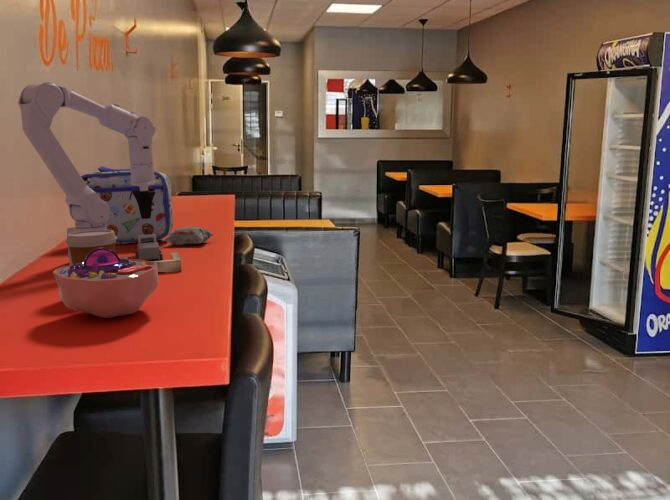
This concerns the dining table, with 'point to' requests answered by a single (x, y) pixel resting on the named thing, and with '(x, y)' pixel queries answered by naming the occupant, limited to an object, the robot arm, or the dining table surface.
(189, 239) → the packaged food
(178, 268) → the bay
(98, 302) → the cell model
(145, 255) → the grey box with knobs
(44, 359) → the dining table surface
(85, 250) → the disposable coffee cup
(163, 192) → the lunch box
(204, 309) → the dining table surface
